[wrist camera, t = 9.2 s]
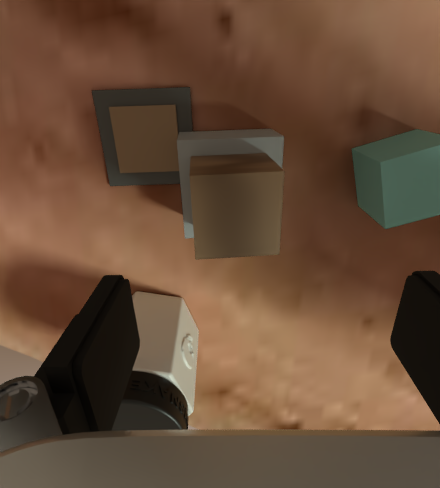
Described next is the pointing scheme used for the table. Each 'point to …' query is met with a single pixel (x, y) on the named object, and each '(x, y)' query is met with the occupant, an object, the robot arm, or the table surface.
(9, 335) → the table surface
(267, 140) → the grey base block
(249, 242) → the walnut cube
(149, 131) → the swatch
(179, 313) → the jar
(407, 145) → the teal cube
